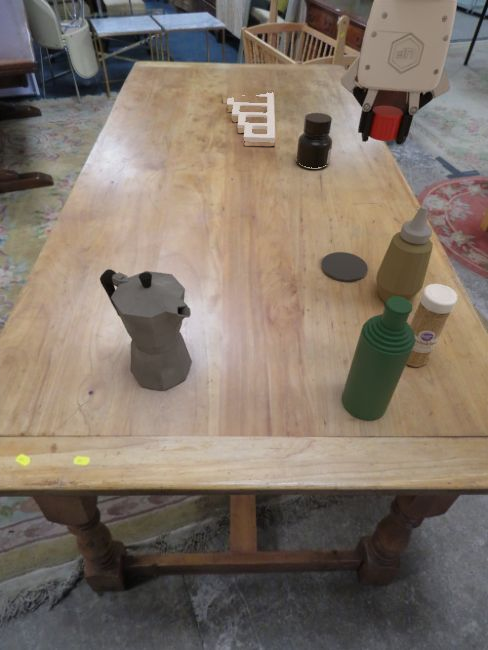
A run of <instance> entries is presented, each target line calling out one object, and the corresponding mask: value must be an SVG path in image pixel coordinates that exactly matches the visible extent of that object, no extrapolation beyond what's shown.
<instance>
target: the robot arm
mask: <svg viewBox="0 0 488 650" xmlns="http://www.w3.org/2000/svg"><path fill="white" fill-rule="evenodd" d="M457 6H458V0H373V2H372V5H371V9H370V12H369V15H368V18H367V21H366V26H365V30H364V34H363V38H362V43H361V47H360V51H359V55H358V56H357V57H356V58H355V60H354V61H353V62H352V63H351V65H350V66H348V68H347V69H346V71H345V72H344V73H343V74H342V75H341V77H340V84H341V86H342V87H343V88H344V89H346V90H347V91H348V92H349V93H351V95H352V96H353V97H354V99H355V100H356V101H357V103H358V104H359V106H360V107H361V113H360V117H359V122H358V129H357V133H358V134H361V141H362V143H363V142H364V143H366V142H369V138H370V137H369V133H370V129H371V124H372V120H373V115H374V112H373V108H374V102H375V100H376V97H377V95H378V93H379V91H390V92H391V91H393V92H406V103H405V104H404V106H402V108H400V110H402V111H403V116H402V120H401V123H400V127H399V131H398V134H397V138H396V139H394V141H395V144H396V145H402V143H403V141H404V137H408V136H409V133H410V130H411V125H412V122H413V118H414V116H415V115H416V114H417V113H419V110H421V109H423V107H425V106H426V105H428V104H429V103H430V102H432V100H434V99H437V98H439V97H441V96H443V95H445V94H446V93H448V92H449V91H450V89H451V86H450V83H449V78H448V75H447V72H446V69H445V64H446V59H447V56H448V51H449V47H450V43H451V38H452V33H453V29H454V24H455V18H456V13H457ZM356 77H357V81H358V82H357V81H356V80H355V79H356ZM364 88H365V89H364Z"/></svg>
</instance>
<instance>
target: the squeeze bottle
mask: <svg viewBox="0 0 488 650" xmlns="http://www.w3.org/2000/svg"><path fill="white" fill-rule="evenodd" d="M428 214H429V206H427V205H420V207H419V208H418V210H417V212H416V213H415V215H414V216H413V218H412V220H408V221H405V222H403V224H402V226H401V228H400V231H398V232H396V233H395V234H393V236H392V238H391V240H390V243H389V245H388V247H387V249H386V251H385V253H384V256H383V259H382V261H381V263H380V266H379V267H378V270H377V272H376V276H375V279H376V280H375V281H376V289H377V294H378V297H379V298H380V299H381V300H382V301H383V302H385V303H386V300H387V299H388V298H390V297H393V296H400V297H403V298H406V299H407V300H409V301H410V302H411V300H412V299H413V298H414V297H415V296H416V295H417V294H418V293H419V292H420V291H421V290H422V289H423V286H424V283H425V278H426V275H427V270H428V268H429V264H430V261H431V260H430V259H431V256H432V251H433V247H434V243H433V241H432V240H431V237H432V234H433V229H432V227H431V226H430V225H429V224H428V216H429V215H428Z"/></svg>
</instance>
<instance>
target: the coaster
mask: <svg viewBox="0 0 488 650" xmlns="http://www.w3.org/2000/svg"><path fill="white" fill-rule="evenodd" d="M320 268H321V271H322V273H324V275H326V276H327V277H329V278H330V279H332V280H335V281H337V282H342V283H354V282H358V281H361V280H362V279H364V278H365V277H366V276H367V273H368V270H369V268H368V265H367V263H366V261H365V260H364V259H363V258H362V257H360V256H358V255H356V254H354V253H350V252H347V251H336V252H331V253H328V254H327V255H325V256H324V257H323V258H322V260H321V262H320Z"/></svg>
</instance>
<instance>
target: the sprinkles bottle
mask: <svg viewBox="0 0 488 650" xmlns="http://www.w3.org/2000/svg"><path fill="white" fill-rule="evenodd" d="M458 300H459V296H458V294H457V292H456V291H455V290H454V289H453V288H451V287H449V286H447V285H445V284H440V283H430V284H427V285H426V286H425V287H424V288H423V291H422V293H421V295H420V297H419V303H418V305H417V308H416V310H415V312H414V313H413V316H412V319H411V321H410V324H409V325H410V327H411V328H412V329H413V331H414V334H415V345H414V347H413V349H412V352H411V354H410V356H409V359H408V361H407V363H406V366H410V367H412V368H413V367H414V368H421V367H424V366H425V365H426V364H427V363H428V360H429V357H430V355H431V353H432V351H433V350H434V348H435V346H436V344H437V342H438V340H439V337H440V336H441V333H442V331H443V329H444V327H445V326H446V322H447V320H448V318H449V315H450V314H451V312H452V311H453V310H454V309H455V307H456V304H457V302H458Z"/></svg>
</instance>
